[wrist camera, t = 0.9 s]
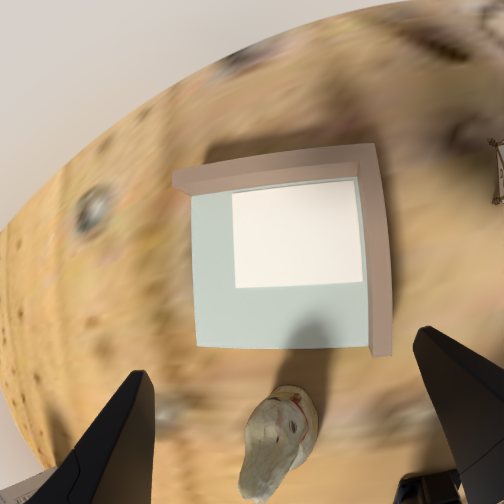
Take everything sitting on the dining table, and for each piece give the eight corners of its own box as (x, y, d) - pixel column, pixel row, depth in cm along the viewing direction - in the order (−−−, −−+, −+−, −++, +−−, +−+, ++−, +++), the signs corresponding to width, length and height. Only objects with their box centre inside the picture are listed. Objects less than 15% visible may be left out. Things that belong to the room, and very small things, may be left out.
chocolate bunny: (345, 398, 19) (342, 478, 10) (296, 466, 20) (266, 548, 10) (281, 367, 21) (236, 430, 11) (239, 439, 21) (185, 509, 12)
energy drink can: (53, 458, 29) (-15, 486, 15) (77, 475, 27) (6, 512, 13) (61, 482, 29) (0, 512, 15) (85, 500, 27) (23, 536, 13)
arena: (383, 341, 19) (391, 355, 15) (201, 344, 23) (177, 354, 19) (369, 163, 20) (374, 142, 17) (195, 185, 24) (172, 171, 20)
